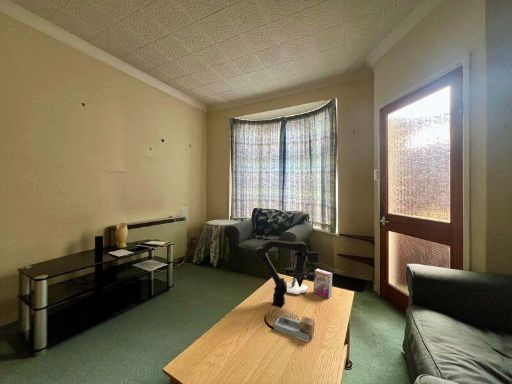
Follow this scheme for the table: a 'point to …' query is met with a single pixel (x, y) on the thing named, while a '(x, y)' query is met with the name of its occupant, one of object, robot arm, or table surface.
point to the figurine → (296, 287)
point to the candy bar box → (323, 283)
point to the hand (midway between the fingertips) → (299, 286)
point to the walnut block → (307, 326)
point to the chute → (290, 328)
